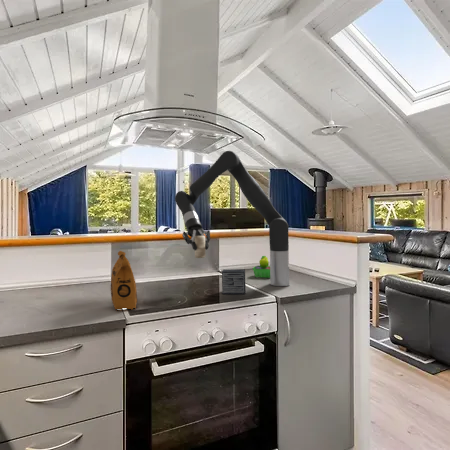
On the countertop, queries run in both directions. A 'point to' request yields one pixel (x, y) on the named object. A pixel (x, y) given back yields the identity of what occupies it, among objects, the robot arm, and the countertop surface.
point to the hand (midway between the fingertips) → (201, 248)
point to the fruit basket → (262, 268)
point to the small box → (233, 281)
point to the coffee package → (123, 284)
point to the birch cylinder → (200, 247)
